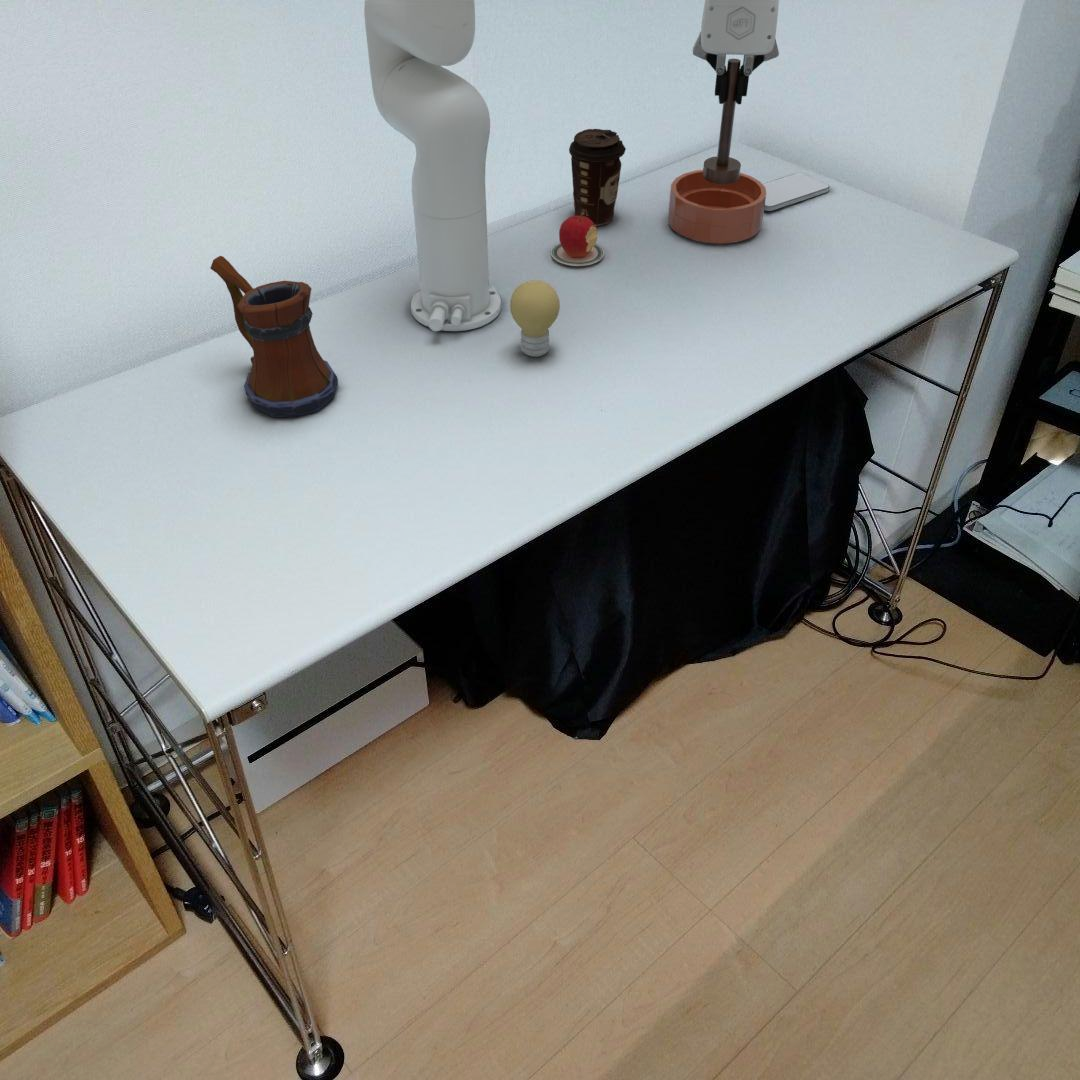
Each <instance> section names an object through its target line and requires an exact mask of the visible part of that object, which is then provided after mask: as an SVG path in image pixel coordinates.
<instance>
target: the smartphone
mask: <svg viewBox="0 0 1080 1080" xmlns="http://www.w3.org/2000/svg"><path fill="white" fill-rule="evenodd" d="M762 184H763V185H764V186H765V188H766V201H765V207H764V211H766V212H767V211H768V212H772V211H775V210H778V209H781V208H784V207H788V206H791V205H794V204H796V203H800V202H802V201H805V200H808V199H810V198H814V197H817V196H820V195H823V194H826V193H829V191H830V185H829V184H827V183H825V182H823V181H821V180H819V179H817V178H814V177H812V176H811V175H810V176H809V175H808V174H806V173H802V172H796V173H793V174H789V175H787V176H783V177H779V178H777V179H774V180H771V181H767V182H764V183H762Z"/></svg>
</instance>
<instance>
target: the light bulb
mask: <svg viewBox="0 0 1080 1080" xmlns="http://www.w3.org/2000/svg"><path fill="white" fill-rule="evenodd" d="M510 296H511V297H510V300H509V310H510V314H511V317H512V319H513V320H514V322H515V323H516V325H518V327H519V328H520V350H521V351H522V353H523V354H524V355H527V356H528V357H533V358H537V357H541V356H544V355H545V354H547V353H548V351H549V350H550V328H551V326H553V324H554V323H555V322H556V320H557V318H558V316H559V313H560V310H561V309H560V308H561V303H560V298H559V294H558V293H557V291H556V290H555V288H554V287H553V286H552V285H550V283H548V282H546V281H543V280H539V279H537V280H536V279H533V280H526V281H525V282H521V283H520V284H518V285H517V286H516V287H515V288H514V290H513V292H512V293H511V295H510Z"/></svg>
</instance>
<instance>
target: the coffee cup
mask: <svg viewBox="0 0 1080 1080" xmlns="http://www.w3.org/2000/svg"><path fill="white" fill-rule="evenodd" d="M626 150H627V148H626V147H625V145H624V144H623V140H621V138H620V136H619V134H618V132H616V131H612V130H611V129H601V128H587V129H583V130H582V131H579V132H577V133H575V135H574V137H573V141H572V142H570V145H569V148H568V152H569V154H570V156H571V158H570V163H571V164H570V165H571V176H572V196H573V197H572V198H573V209H574V215H573V216H581V215H582V212H584V214H583V215H582V216H585V217H587V218H589V219H590V220H591V221H592V222H593V223H594V224H595V226H596V227H598V226H603V225H607V224H609V223H611V221H612V220H613V219H614V217H615V216H614V215H615V206H616V202H617V197H618V191H619V185H620V178H621V171H622V170H621V169H622V160H621V159H620V158H621V157H623V156H624V155H625V153H626Z"/></svg>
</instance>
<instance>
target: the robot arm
mask: <svg viewBox="0 0 1080 1080" xmlns="http://www.w3.org/2000/svg"><path fill="white" fill-rule="evenodd" d="M475 4H476V3H475V0H364V7H363V9H364V12H363V13H364V25H365V27H364V28H365V34H366V35H365V36H366V45H367V53H368V63H369V64H368V65H369V71H370V79H371V80H370V81H371V89H372V93H373V98H374V102H375V105H376V108H377V110H378V113H379V114H380V116H381V118H382V119H383V120H384V121H385V122H386V123H387V124H388V125H389V126H390V127H391V128H393V129H394V130H395V131H396V132H398V133H399V134H401V135H403V136H404V137H405V138H406V139H407V140H408V141H409V142H411V143H412V144H413V145H414V146H415V161H414V165H413V169H412V174H411V197H412V198H411V199H412V207H413V218H414V220H413V221H414V230H415V241H416V252H417V263H418V274H419V276H418V277H419V287H420V289H419V290H418V291H417V292H416V293H415V294H413V296H412V298H411V300H410V311H411V314H412V316H413V318H414V319H415V320H416V321H417V322H418V323H419V324H421V325H423V326H425V327H427V328H429V329H430V330H432V331H433V332H440V331H444V332H464V331H470V330H475V329H478V328H481V327H483V326H485V325H487V324H489V323H491V322H492V321H494V320H495V319H496V318H497V317H498V316H499V315H500V313H501V309H502V299H501V295H500V294H499V292H498V291H497V290H496V289H495V288H493V287H491V286H490V270H489V245H488V244H489V242H488V241H489V240H488V239H489V238H488V218H487V217H488V215H487V193H486V192H487V191H486V166H487V164H486V163H487V153H488V146H489V142H490V141H489V140H490V135H491V117H490V116H491V115H490V111H489V107H488V105H487V103H486V100H485V99H484V97H483V96H482V94H481V93H480V92H479V90H478V89H477V88H476V87H475V86H474V85H473V84H472V83H470V82H469V81H468V80H467V79H465V78H463V77H461V76H459V75H458V74H456V73H455V72H452V71H451V70H449V69H448V68H446V67H451V66H454V65H456V64H458V63H460V62H462V61H463V60H464V59H466V58H467V56H468V55H469V53H470V51H471V49H472V47H473V44H474V41H475V35H476V5H475ZM779 4H780V0H704V4H703V12H702V20H701V27H700V32H699V34H698V37H696V41H695V42H694V44H693V47H692V55H693V56H695V57H697V58H699V59H702V60H703V61H706V62H707V63H708V64H709V66H710V67H711V68H712V69H713V70H714V71H715V73H716V77H715V85H714V96H717V97H718V103H719V105H723V103H724V102H725V93H726V85H727V65H726V62H727V61H726V60H727V55H733V56H735V55H736V56H737V55H738V56H743V59H742V65H740V71H739V79H738V87H737V95H736V104H737V105H742V101H743V97H747V96H748V95H747V94H748V87H749V79H750V76H751V75H752V73H753V72H754V71H755V70H756V69H757V68H758V67H760V66H761V65H762V64H763V63H764V62H767V61H770V60H773V59H776V58H777V57H779V55H780V52H779V47H778V42H777V40H776V39H777V38H776V35H777V27H778V16H779Z"/></svg>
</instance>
